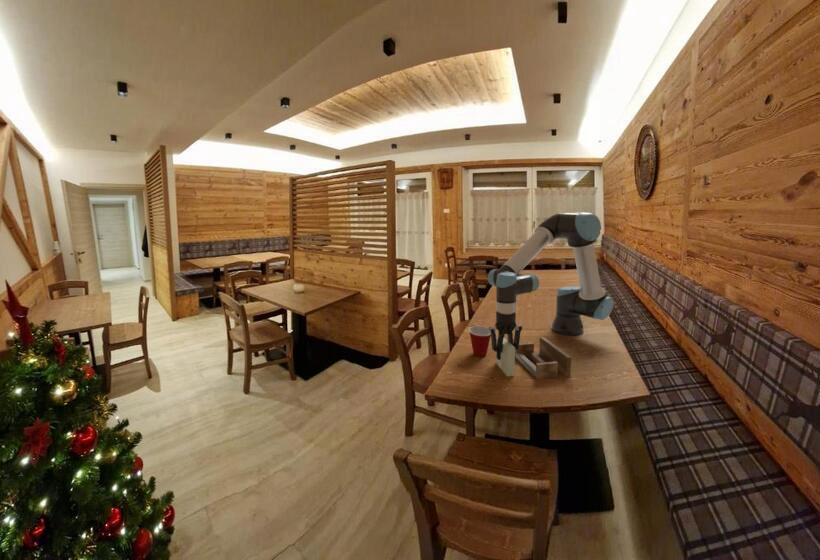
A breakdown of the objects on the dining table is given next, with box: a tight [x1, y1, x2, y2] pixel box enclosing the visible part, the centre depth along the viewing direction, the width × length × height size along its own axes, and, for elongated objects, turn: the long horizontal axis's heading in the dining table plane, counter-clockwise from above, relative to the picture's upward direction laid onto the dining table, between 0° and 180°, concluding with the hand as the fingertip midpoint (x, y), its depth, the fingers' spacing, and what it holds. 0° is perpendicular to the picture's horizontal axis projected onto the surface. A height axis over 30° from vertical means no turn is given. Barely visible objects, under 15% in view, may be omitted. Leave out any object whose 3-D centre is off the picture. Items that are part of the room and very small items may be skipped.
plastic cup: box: [468, 325, 491, 358], centre depth 157 cm, size 11×11×12 cm
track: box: [515, 336, 572, 380], centre depth 144 cm, size 13×22×8 cm, turn 7°
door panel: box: [495, 336, 516, 377], centre depth 142 cm, size 3×12×12 cm, turn 7°
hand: (504, 365), depth 143 cm, fingers closed on door panel, 3 cm apart
